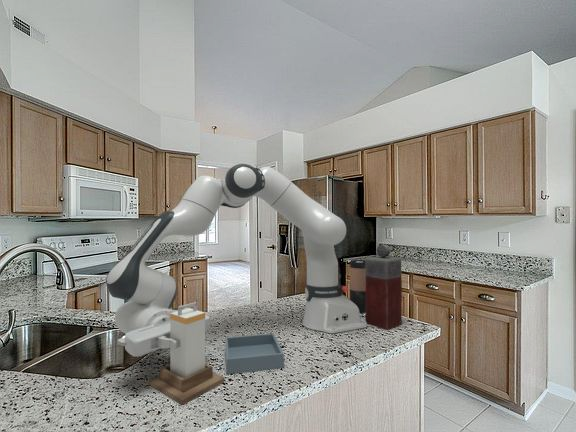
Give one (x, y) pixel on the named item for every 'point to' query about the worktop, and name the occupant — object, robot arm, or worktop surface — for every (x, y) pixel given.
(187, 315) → the tall lidded canister
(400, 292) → the red square storage jar
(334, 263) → the robot arm
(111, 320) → the worktop surface
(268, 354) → the tray
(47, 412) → the worktop surface
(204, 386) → the dock
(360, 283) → the travel mug
